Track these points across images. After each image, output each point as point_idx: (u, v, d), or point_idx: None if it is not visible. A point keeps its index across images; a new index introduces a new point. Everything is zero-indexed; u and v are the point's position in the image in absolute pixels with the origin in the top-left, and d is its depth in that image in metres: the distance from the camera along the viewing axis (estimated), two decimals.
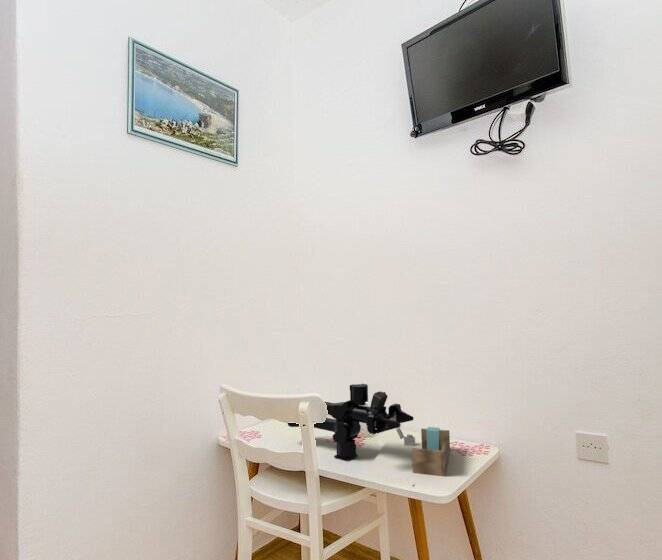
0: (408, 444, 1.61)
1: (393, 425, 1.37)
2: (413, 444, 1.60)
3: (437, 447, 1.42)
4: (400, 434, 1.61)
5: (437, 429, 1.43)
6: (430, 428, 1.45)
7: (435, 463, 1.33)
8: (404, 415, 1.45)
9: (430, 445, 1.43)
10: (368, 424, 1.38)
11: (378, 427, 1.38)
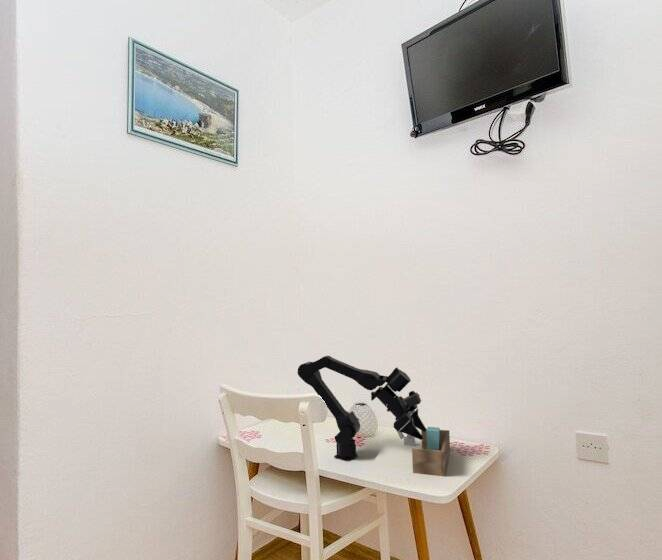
0: (408, 444, 1.61)
1: (416, 435, 1.41)
2: (413, 444, 1.60)
3: (437, 447, 1.42)
4: (400, 434, 1.61)
5: (437, 429, 1.43)
6: (430, 428, 1.45)
7: (435, 463, 1.33)
8: (419, 422, 1.51)
9: (430, 445, 1.43)
10: (399, 421, 1.39)
11: (404, 428, 1.40)
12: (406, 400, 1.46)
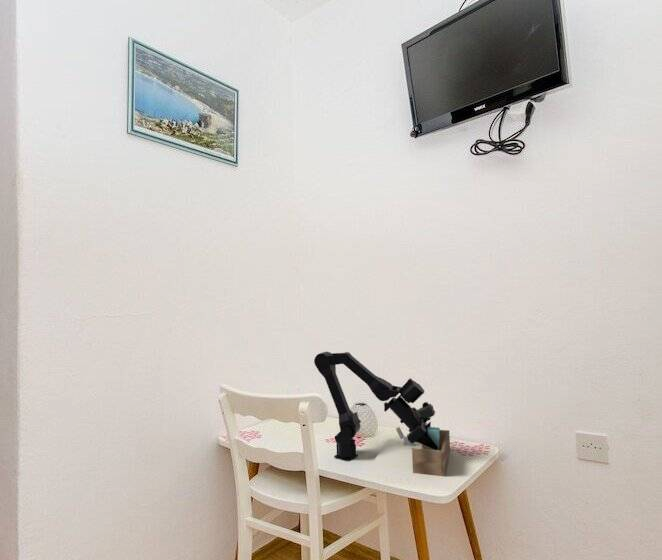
0: (408, 444, 1.61)
1: (431, 445, 1.42)
2: (413, 444, 1.60)
3: None
4: (400, 434, 1.61)
5: (437, 429, 1.43)
6: (430, 428, 1.45)
7: (435, 463, 1.33)
8: None
9: None
10: (413, 434, 1.38)
11: (419, 438, 1.41)
12: (420, 412, 1.44)
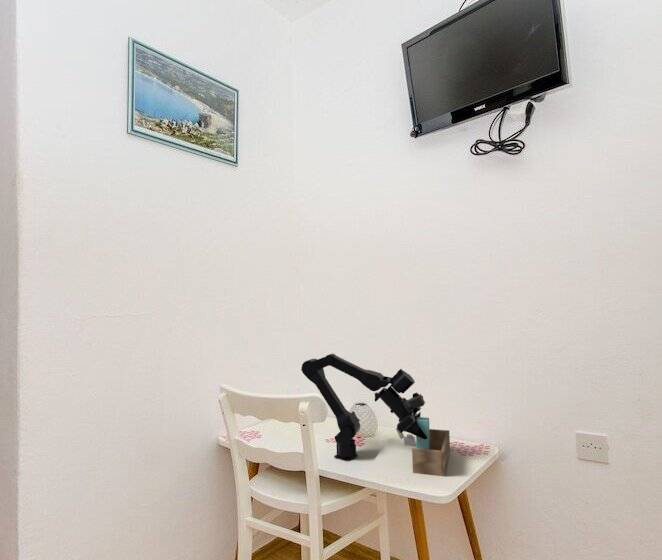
0: (408, 444, 1.61)
1: (421, 435, 1.43)
2: (413, 444, 1.60)
3: None
4: (400, 434, 1.61)
5: (427, 419, 1.45)
6: (420, 418, 1.46)
7: (435, 463, 1.33)
8: None
9: None
10: (403, 423, 1.39)
11: (408, 428, 1.42)
12: (410, 402, 1.45)
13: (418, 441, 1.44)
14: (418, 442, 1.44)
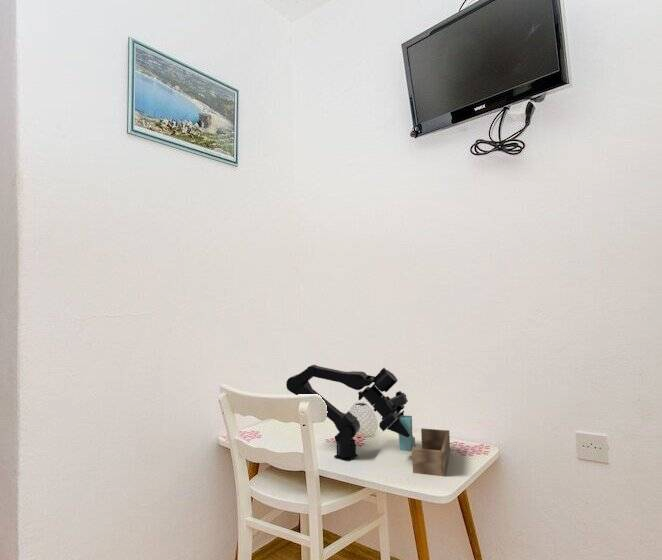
0: None
1: (403, 432, 1.45)
2: (413, 444, 1.60)
3: (409, 434, 1.45)
4: None
5: (409, 417, 1.47)
6: (402, 416, 1.48)
7: (435, 463, 1.33)
8: None
9: None
10: (385, 421, 1.41)
11: (391, 426, 1.44)
12: (392, 400, 1.47)
13: (401, 439, 1.46)
14: (401, 440, 1.46)
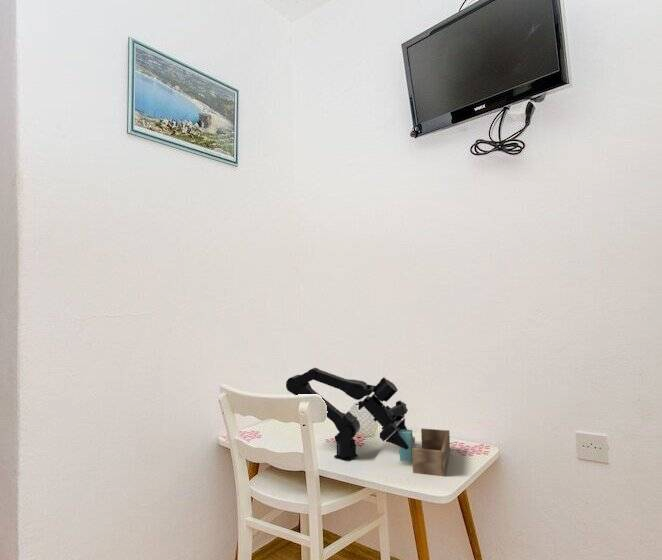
0: None
1: (402, 444, 1.43)
2: (413, 444, 1.60)
3: (409, 449, 1.45)
4: None
5: (410, 432, 1.46)
6: (403, 430, 1.48)
7: (435, 463, 1.33)
8: None
9: None
10: (385, 432, 1.41)
11: None
12: (393, 410, 1.47)
13: (402, 453, 1.46)
14: (401, 455, 1.46)
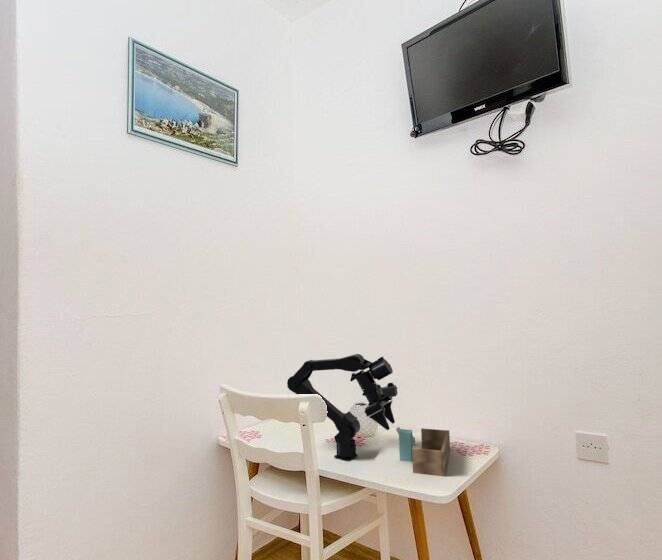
0: None
1: (384, 424, 1.44)
2: (413, 444, 1.60)
3: (409, 449, 1.45)
4: None
5: (410, 432, 1.46)
6: (403, 430, 1.48)
7: (435, 463, 1.33)
8: (390, 413, 1.54)
9: (402, 447, 1.46)
10: (371, 408, 1.42)
11: (374, 415, 1.43)
12: (383, 390, 1.48)
13: (402, 453, 1.46)
14: (401, 455, 1.46)
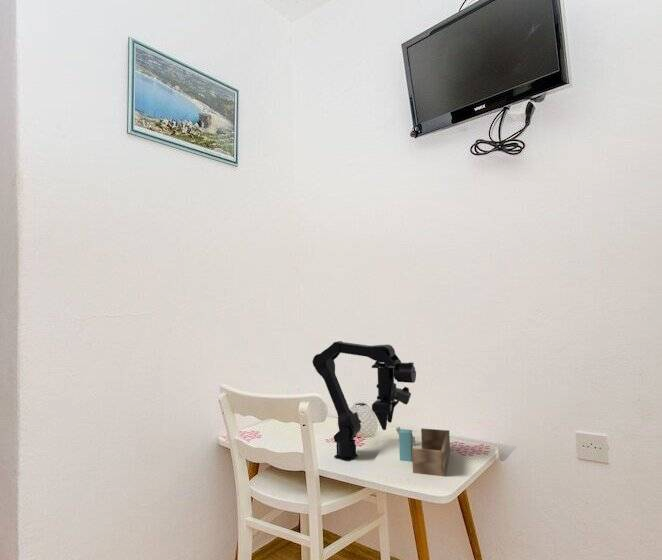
0: None
1: (383, 424, 1.43)
2: (413, 444, 1.60)
3: (409, 449, 1.45)
4: None
5: (410, 432, 1.46)
6: (403, 430, 1.48)
7: (435, 463, 1.33)
8: (391, 413, 1.52)
9: (402, 447, 1.46)
10: (380, 405, 1.39)
11: None
12: (398, 393, 1.44)
13: (402, 453, 1.46)
14: (401, 455, 1.46)
